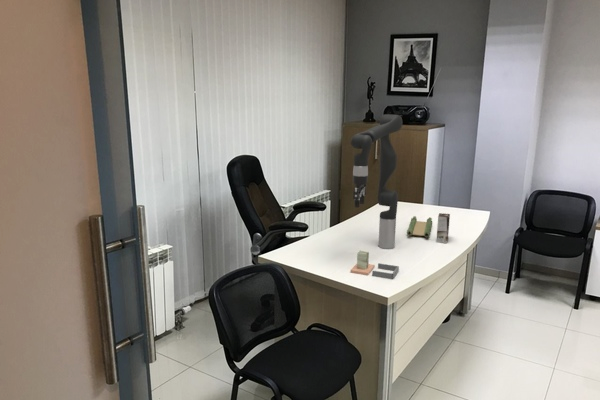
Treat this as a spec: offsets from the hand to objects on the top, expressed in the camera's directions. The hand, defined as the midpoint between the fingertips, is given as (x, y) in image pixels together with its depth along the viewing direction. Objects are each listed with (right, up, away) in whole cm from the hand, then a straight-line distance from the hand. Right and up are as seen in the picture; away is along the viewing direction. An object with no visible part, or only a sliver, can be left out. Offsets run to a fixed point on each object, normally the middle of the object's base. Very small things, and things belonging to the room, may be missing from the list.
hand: (359, 205), depth 232 cm
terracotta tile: (+1, -32, -6) cm, 33 cm away
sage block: (+1, -31, -6) cm, 31 cm away
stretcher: (+47, -18, +62) cm, 80 cm away
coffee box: (+56, -22, +41) cm, 72 cm away
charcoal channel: (+11, -33, -10) cm, 36 cm away
